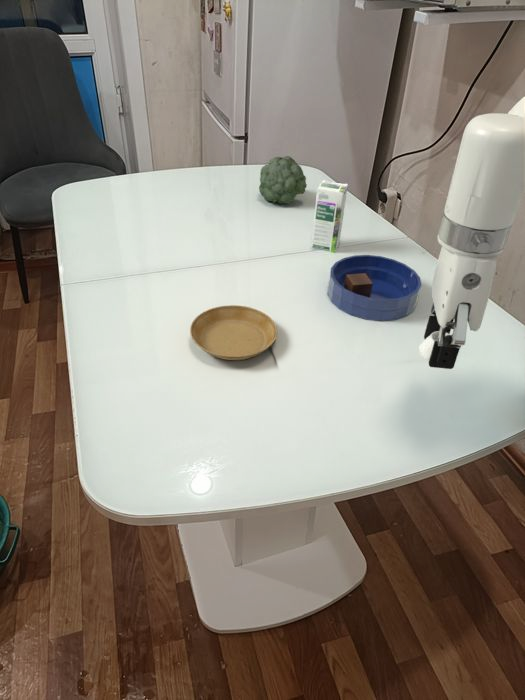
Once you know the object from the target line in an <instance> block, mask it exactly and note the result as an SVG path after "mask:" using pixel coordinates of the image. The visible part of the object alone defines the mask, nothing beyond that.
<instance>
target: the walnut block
mask: <svg viewBox="0 0 525 700" xmlns="http://www.w3.org/2000/svg"><path fill="white" fill-rule="evenodd" d="M372 286H373V283H372V282H371V280H370V279H369V277H368V276H367V275H366V273H361V274H347V275H346V279H345V285H344V288H345V289H347V290H349V291H351V292H353V293H355V294H358V295H362V296H365V297H369V298H370V296H371V291H372Z"/></svg>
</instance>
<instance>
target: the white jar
mask: <svg viewBox="0 0 525 700" xmlns="http://www.w3.org/2000/svg"><path fill="white" fill-rule="evenodd" d="M447 335H451V334H448V333H446V334H445V336H447ZM438 336H439V331H436V332H433V333H432V334H431V335H430V336H428V337H427V338H426V339H424V340H423V341H422V342H421V343H420V345H419V348H418V351H419V354H420V355H421V356H422V358H424V359H425V360H427V361H429V359H430V356H431V352H432V349H433V345H434V342H435V341H438Z"/></svg>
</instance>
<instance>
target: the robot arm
mask: <svg viewBox="0 0 525 700" xmlns="http://www.w3.org/2000/svg"><path fill="white" fill-rule="evenodd" d="M524 194H525V95H524V96H523V97H522V98H521V99H520V100H519V101H517V103H515V105H513V107H512V108H511V109H510V110H509V111H508V113H503V112H501V113H499V112H492V113H484V114H479V115H476V116H474V117H473V118H472V119H471V120H470V121H469V122H468V123H467V124H466V126H465V128H464V130H463V134H462V137H461V141H460V145H459V148H458V152H457V157H456V162H455V165H454V169H453V172H452V177H451V181H450V185H449V189H448V194H447V197H446V201H445V204H444V205H445V206H444V209H443V214H442V216H441V217H442V218H441V222H440V224H439V225H440V226H439V229H438V234H437V242H438V244H439V245H440V246H441V248H440V252H439V256H438V259H437V262H436V266H435V269H434V273H433V277H432V283H431V296H432V297H431V298H432V301H433V303H432V305H431V308H430V314H429V316H428V320H427V324H426V328H425V330H424V335H423V339H424V340H425V339H426V338H427V337H428V336H430V335H431V334H432V333H433V332H436V331H439V336H438V341H435V342H434V345H433V349H432V352H431V356H430V359H429V360H428V366H429V367H430V368H435V369H436V368H437V369H444V370H445V369H446V370H452V369H454V367H455V364H456V362H457V358H458V355H459V353H460V349H461V348H462V346H465V345H466V340H467V332H468V331H467V329H468V327H469V330H470V331H473V332H478V331H479V329H480V328H481V326H482V323H483V319H484V316H485V314H486V313H485V312H486V309H487V306H488V301H489V298H490V294H491V291H492V286H493V283H494V279H495V274H496V267H497V261H498V256H499V255H501V254H502V253H503V252H504V250H505V247H506V244H507V241H508V238H509V236H510V233H511V230H512V227H513V225H514V221H515V218H516V216H517V213H518V209H519V207H520V203H521V201H522V198H523V195H524ZM451 330H453V331H452V334H450V333H451ZM446 333H448V334H450V335H447V336H445V334H446Z"/></svg>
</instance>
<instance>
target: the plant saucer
mask: <svg viewBox="0 0 525 700" xmlns="http://www.w3.org/2000/svg"><path fill="white" fill-rule="evenodd" d="M189 334H190V337H191V339H192V341H193V342H194V343H195V345H196V346H198V347H199V348H200V349H201V350H202V351H204V352H205V353H206V354H209V355H210V356H213V357H215V358H218V359H221V360H225V361H226V360H227V361H241V360H247V359H250V358H253V357H256V356H258V355H260V354H262V353H263V352H264V351H266V350H267V349H269V348H270V347H271V346H272V345H273V343H274V342H275V340H276V339H277V336H278V327H277V324H276V322H275V321H274V320H273V319H272V318H271V317H270V316H269V315H267V313H265V312H262V311H261V310H258V309H256V308H253V307H250V306H246V305H234V304H233V305H220V306H216V307H211V308H209V309H207V310H204V311H203V312H201V313H200V314H198V315H196V316H195V318H194V319H193V321H192V322H191V324H190V327H189Z"/></svg>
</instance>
